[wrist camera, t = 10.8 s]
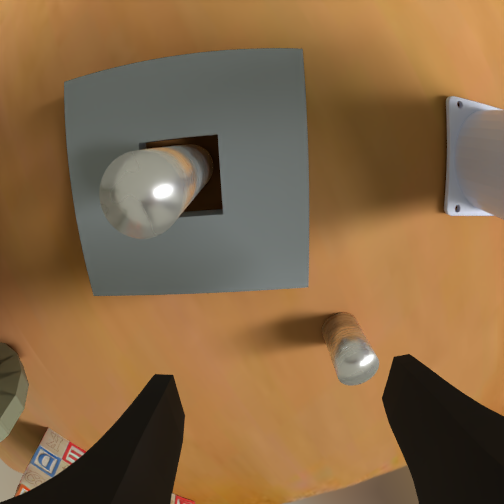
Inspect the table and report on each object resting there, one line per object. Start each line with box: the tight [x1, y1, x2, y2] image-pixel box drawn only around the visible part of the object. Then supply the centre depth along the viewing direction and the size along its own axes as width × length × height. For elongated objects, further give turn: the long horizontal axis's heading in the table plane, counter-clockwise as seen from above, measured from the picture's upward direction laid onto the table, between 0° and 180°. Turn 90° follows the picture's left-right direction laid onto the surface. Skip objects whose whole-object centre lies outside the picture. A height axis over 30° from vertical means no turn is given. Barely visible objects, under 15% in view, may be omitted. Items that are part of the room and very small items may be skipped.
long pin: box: [99, 144, 213, 239], centre depth 13 cm, size 3×3×9 cm
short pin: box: [322, 312, 379, 385], centre depth 19 cm, size 3×3×4 cm
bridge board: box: [64, 48, 309, 296], centre depth 16 cm, size 12×12×3 cm
